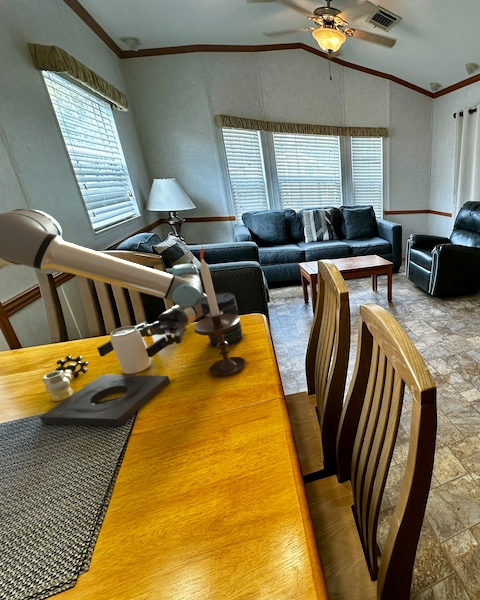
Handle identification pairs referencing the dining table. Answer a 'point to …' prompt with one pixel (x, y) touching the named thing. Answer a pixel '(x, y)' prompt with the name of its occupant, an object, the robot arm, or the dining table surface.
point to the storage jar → (228, 307)
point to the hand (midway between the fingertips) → (124, 352)
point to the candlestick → (218, 328)
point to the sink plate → (108, 414)
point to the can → (130, 349)
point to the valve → (63, 378)
